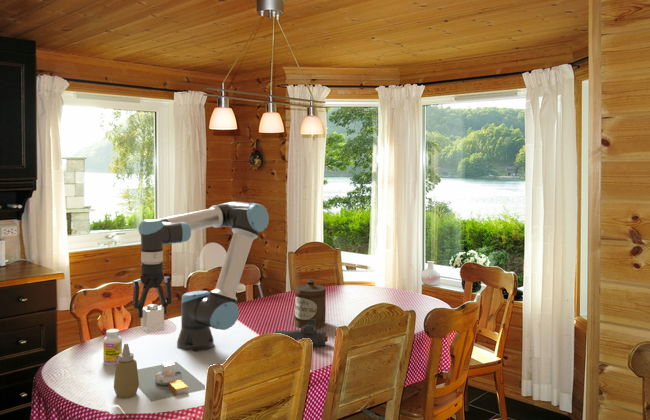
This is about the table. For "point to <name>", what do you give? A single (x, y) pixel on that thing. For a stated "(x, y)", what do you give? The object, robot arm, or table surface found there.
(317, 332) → the laser sight
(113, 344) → the supplement bottle
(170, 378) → the grey copper fixture base
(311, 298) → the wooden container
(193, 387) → the mat
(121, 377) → the squeeze bottle
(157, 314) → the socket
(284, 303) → the table surface
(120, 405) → the table surface
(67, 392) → the table surface
